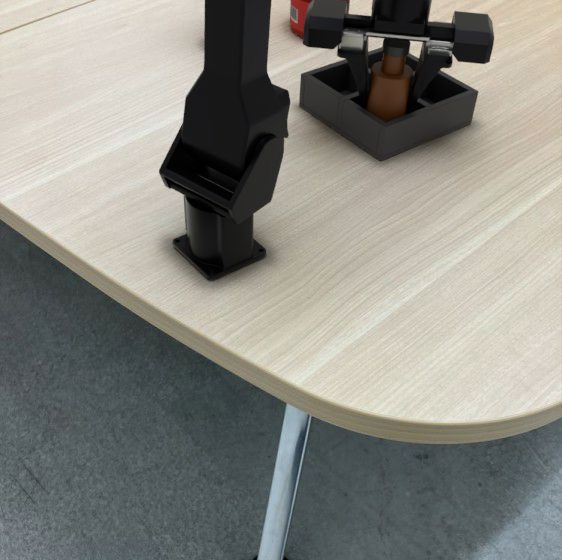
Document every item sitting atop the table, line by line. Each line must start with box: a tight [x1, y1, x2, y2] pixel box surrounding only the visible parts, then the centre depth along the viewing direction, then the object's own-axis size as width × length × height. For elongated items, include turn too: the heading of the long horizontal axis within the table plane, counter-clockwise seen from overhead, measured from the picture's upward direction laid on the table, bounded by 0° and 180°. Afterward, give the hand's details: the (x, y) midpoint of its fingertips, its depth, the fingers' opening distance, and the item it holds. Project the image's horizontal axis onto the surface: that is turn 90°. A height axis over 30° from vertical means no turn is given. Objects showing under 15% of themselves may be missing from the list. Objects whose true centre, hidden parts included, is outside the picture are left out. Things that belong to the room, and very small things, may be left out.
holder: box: [298, 46, 479, 162], centre depth 90 cm, size 14×14×4 cm
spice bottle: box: [366, 38, 413, 122], centre depth 84 cm, size 4×4×10 cm
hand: (386, 108), depth 86 cm, fingers closed on spice bottle, 4 cm apart
